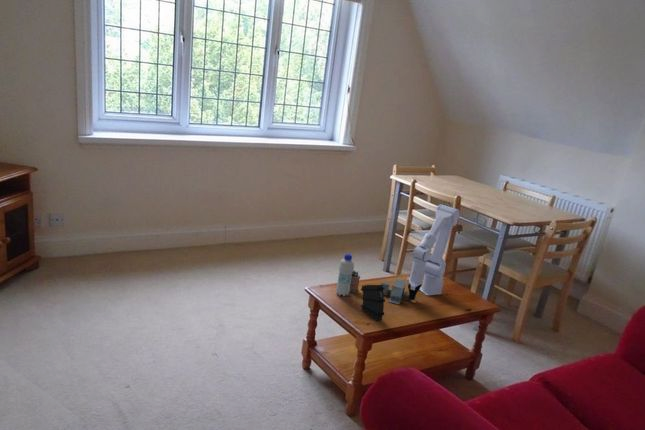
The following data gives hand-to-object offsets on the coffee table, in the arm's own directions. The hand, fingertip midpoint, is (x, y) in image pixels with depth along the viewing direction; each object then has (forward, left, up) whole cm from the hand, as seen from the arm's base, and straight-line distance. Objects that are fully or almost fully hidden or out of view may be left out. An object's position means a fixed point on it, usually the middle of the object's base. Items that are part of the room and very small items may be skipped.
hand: (412, 298), depth 228 cm
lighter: (+25, -16, -2) cm, 30 cm away
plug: (+5, -5, -1) cm, 7 cm away
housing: (+5, -5, -1) cm, 7 cm away
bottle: (+31, -12, -2) cm, 33 cm away
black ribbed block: (+27, +7, -2) cm, 28 cm away
